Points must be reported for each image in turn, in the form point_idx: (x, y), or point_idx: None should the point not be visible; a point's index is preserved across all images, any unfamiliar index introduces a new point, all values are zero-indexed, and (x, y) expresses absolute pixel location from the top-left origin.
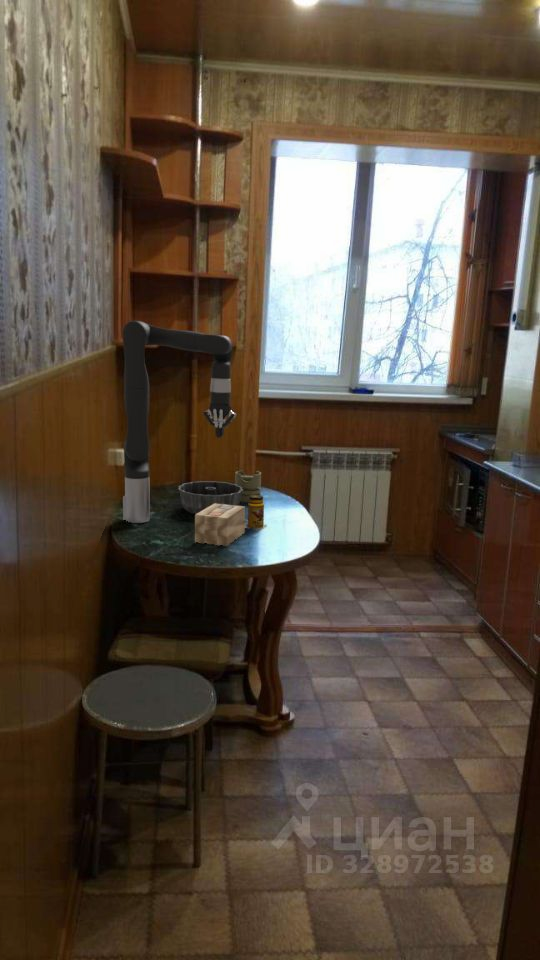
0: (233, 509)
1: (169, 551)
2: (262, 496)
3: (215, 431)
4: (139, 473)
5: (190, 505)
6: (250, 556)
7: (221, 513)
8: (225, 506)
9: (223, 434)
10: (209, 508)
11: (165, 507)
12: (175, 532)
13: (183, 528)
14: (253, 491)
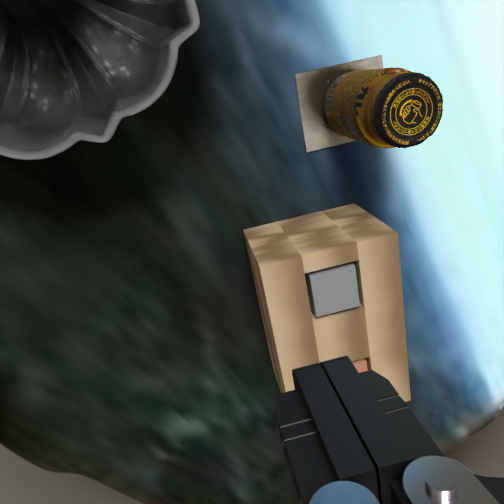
0: (376, 298)
1: (264, 458)
2: (439, 92)
3: (296, 491)
4: None
5: (16, 127)
6: (458, 370)
7: (365, 369)
8: (327, 282)
9: (389, 390)
10: (289, 343)
11: None
12: (157, 333)
13: (145, 284)
14: None
